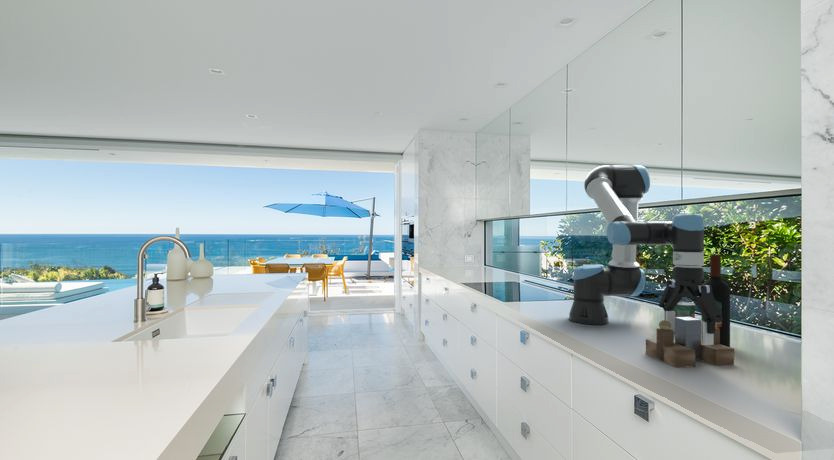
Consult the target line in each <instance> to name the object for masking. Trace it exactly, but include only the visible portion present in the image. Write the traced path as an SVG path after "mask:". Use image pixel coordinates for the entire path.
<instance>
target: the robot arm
mask: <svg viewBox="0 0 834 460" xmlns="http://www.w3.org/2000/svg"><path fill="white" fill-rule="evenodd" d="M583 184H584V186H583V187H584V191H585V193H586V195H587V196H588V197H589V198H590V199H592V200H594V202H595V204H596V205H597V208H598V210H599V211H600V213H601V214H602V216H603V218H604V220H605V221H606V222H607V224H608V225H607V227H606V237H607V240H608V242H609V243H610V244H612V256H611V257H612V258H611V260H610V261H609V262H608V263H607V267H605V266H604V265H603V264H599V263H598V264H597V263H596V264H585V265H579V266H576V267H575V268H574V269H573V276H572V277H573V278H572V279H573V302H572V305H571V308H570V311H569V313H568V314H569V315H568V318H569V320H570V321H572V322H575V323H579V324H584V325H606V324H609V315H608V312H607V308H606V306H605V300H604V299H605V297H627V298H628V297H637V296H640V295H641V294H642V292H643V291H644V288H645V286H646V276H645V275H646V273H645V271H644V270H643V269H642V268H640V265H641V264H639V263H638V262H637V246H638V245H639V246H643V245H644V246H672V264H673V265H674V266H673V267H672V278H673V279H666V284H665V285H666V287H665V289H664V291H663V293H662V296H661V298H660V301H659V304H658V306H659V308H662V309H663V311H664V320H666V321H668V322H670V324H671V328H670V330H673V331H674V332H675V311H671V310H673V309H674V307H675V306H676V305H677V304H678V302H679V301H681V300H682V298H686V299H690V300H691V301H692V302H693V303H694V304H695V307H696V308H697V309H698V310H699V312H700V314H702V316H703V317H704V319H705V320H704V321H702V329H703V345H714V334H715V322H717V321H722V320H723V318H722V316H721V313H720V311H719V308H718V306H717V303H716V301H715V298H714V296H713V293H712V286H710V285H705V286H702V285H703V283H702V281H703V280H704V279H705V277H704V276H705V275H704V274H705V273H704V272H705V271H704V270H705V269H704V268H703V266H704V265H705V257H704V256H705V254H704V253H705V251H704V247H705V242H704V241H705V225H704V217H703V215H702V214H699V213H684V214H683V213H682V214H681V213H680V214H674V215H673V217H672V221H664V220H662V221H638V218H639V202H640V201H642V200H643V199H644V195H645V194H648V192H649V190H650V187H651V177H650V173H649V171H648V169H647V168H646V167H645V166H643V165H640V164H614V165H612V164H611V165H608V164H605V165H600V166H597V167H595V168H594V169H592V170H591V171H590V172H589V173H588V174H587V176H586V177H585V180H584V183H583ZM674 310H675V309H674ZM715 316H716V317H715Z"/></svg>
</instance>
